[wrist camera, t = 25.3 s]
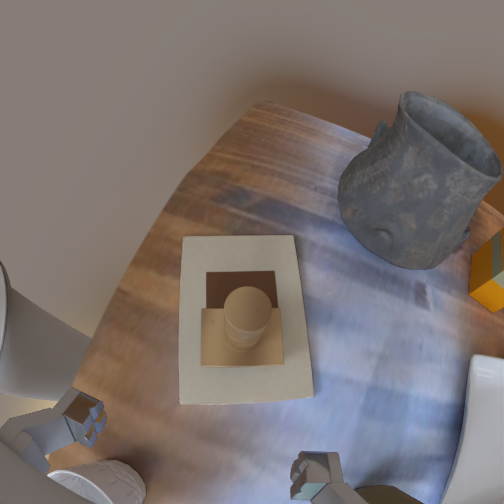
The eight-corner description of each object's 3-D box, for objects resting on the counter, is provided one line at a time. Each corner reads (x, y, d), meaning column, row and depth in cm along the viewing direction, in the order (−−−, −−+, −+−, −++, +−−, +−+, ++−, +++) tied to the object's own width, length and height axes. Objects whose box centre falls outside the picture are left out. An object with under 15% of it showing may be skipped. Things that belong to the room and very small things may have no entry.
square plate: (509, 495, 14) (522, 495, 11) (412, 530, 16) (427, 537, 13) (533, 367, 27) (547, 362, 24) (456, 357, 29) (474, 350, 26)
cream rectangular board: (181, 403, 26) (179, 404, 25) (184, 240, 35) (183, 235, 34) (311, 396, 27) (314, 396, 26) (291, 239, 37) (293, 234, 36)
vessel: (441, 315, 33) (543, 246, 15) (309, 252, 36) (368, 125, 18) (446, 212, 43) (504, 137, 25) (345, 158, 46) (383, 62, 29)
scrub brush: (204, 369, 27) (185, 352, 15) (204, 318, 29) (189, 267, 18) (277, 368, 27) (312, 349, 16) (274, 318, 30) (303, 267, 19)
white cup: (101, 441, 22) (54, 452, 13) (162, 478, 21) (134, 509, 12) (81, 486, 18) (36, 504, 9) (139, 522, 17) (109, 557, 8)
